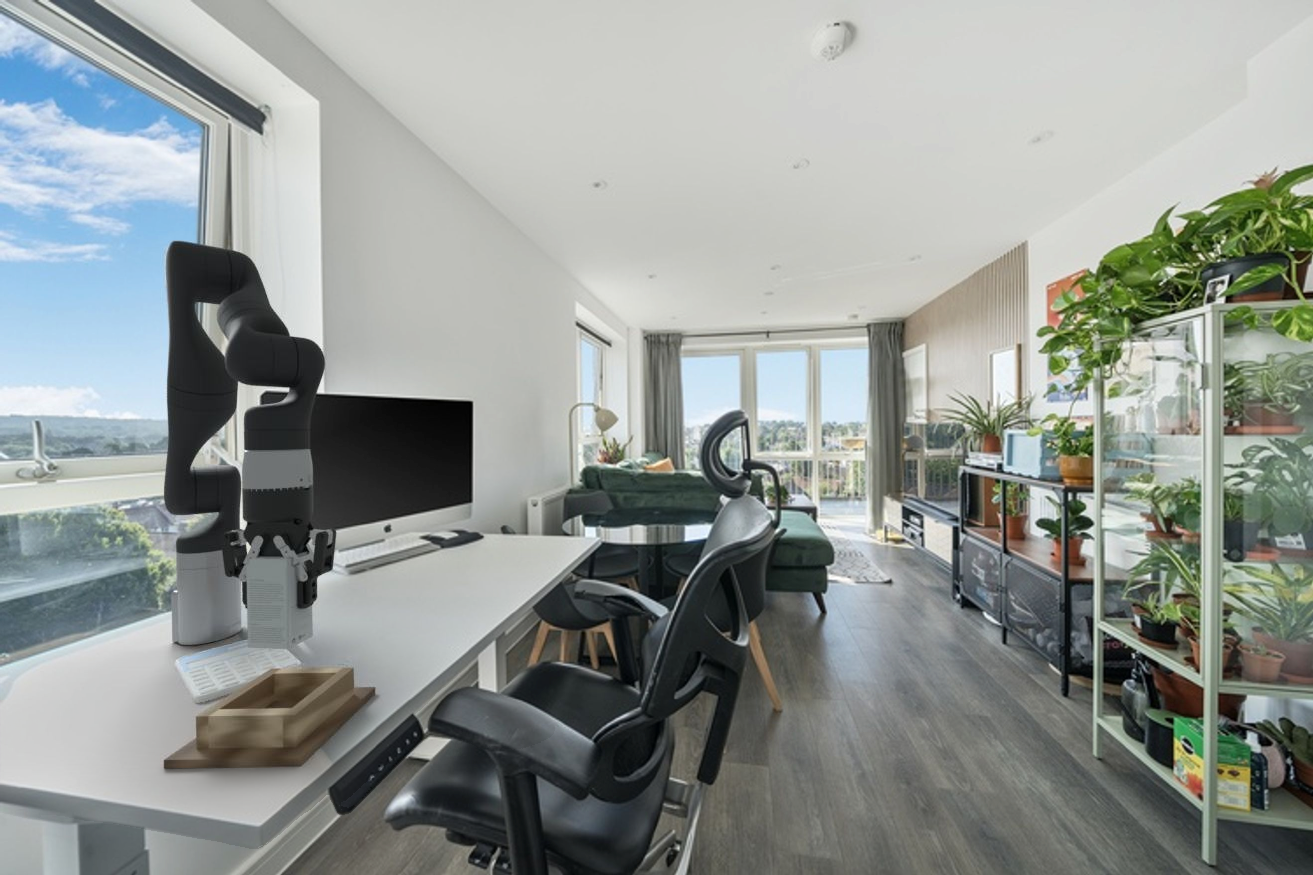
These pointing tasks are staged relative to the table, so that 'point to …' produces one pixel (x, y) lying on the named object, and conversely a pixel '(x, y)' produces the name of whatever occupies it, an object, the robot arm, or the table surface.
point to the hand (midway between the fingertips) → (280, 606)
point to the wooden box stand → (273, 719)
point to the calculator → (229, 668)
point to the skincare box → (275, 605)
